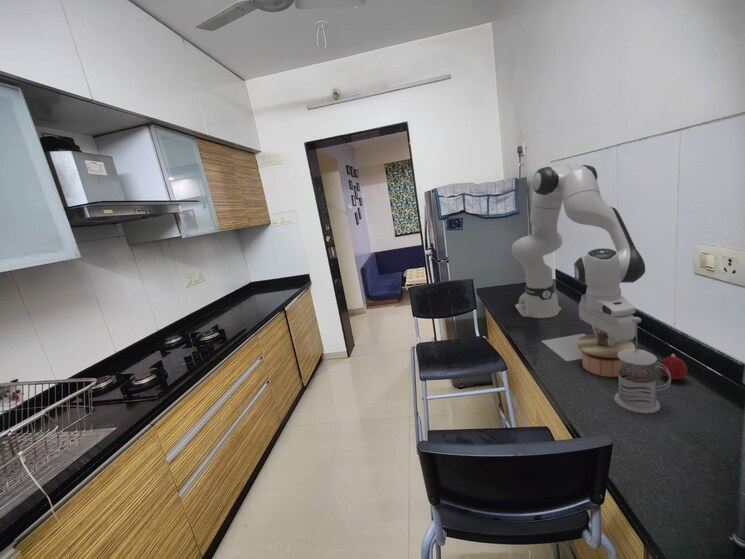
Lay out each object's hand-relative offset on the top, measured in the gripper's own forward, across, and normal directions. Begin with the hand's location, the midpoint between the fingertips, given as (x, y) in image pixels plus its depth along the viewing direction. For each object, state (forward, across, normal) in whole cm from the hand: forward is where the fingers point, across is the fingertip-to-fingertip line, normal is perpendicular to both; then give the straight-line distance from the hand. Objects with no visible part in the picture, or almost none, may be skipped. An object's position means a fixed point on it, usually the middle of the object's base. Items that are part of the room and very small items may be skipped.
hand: (604, 341), depth 101 cm
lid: (+2, 0, 0) cm, 2 cm away
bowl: (+9, 0, 0) cm, 9 cm away
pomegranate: (+10, +11, +12) cm, 19 cm away
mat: (+9, -15, 0) cm, 18 cm away
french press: (+10, +18, -3) cm, 21 cm away
